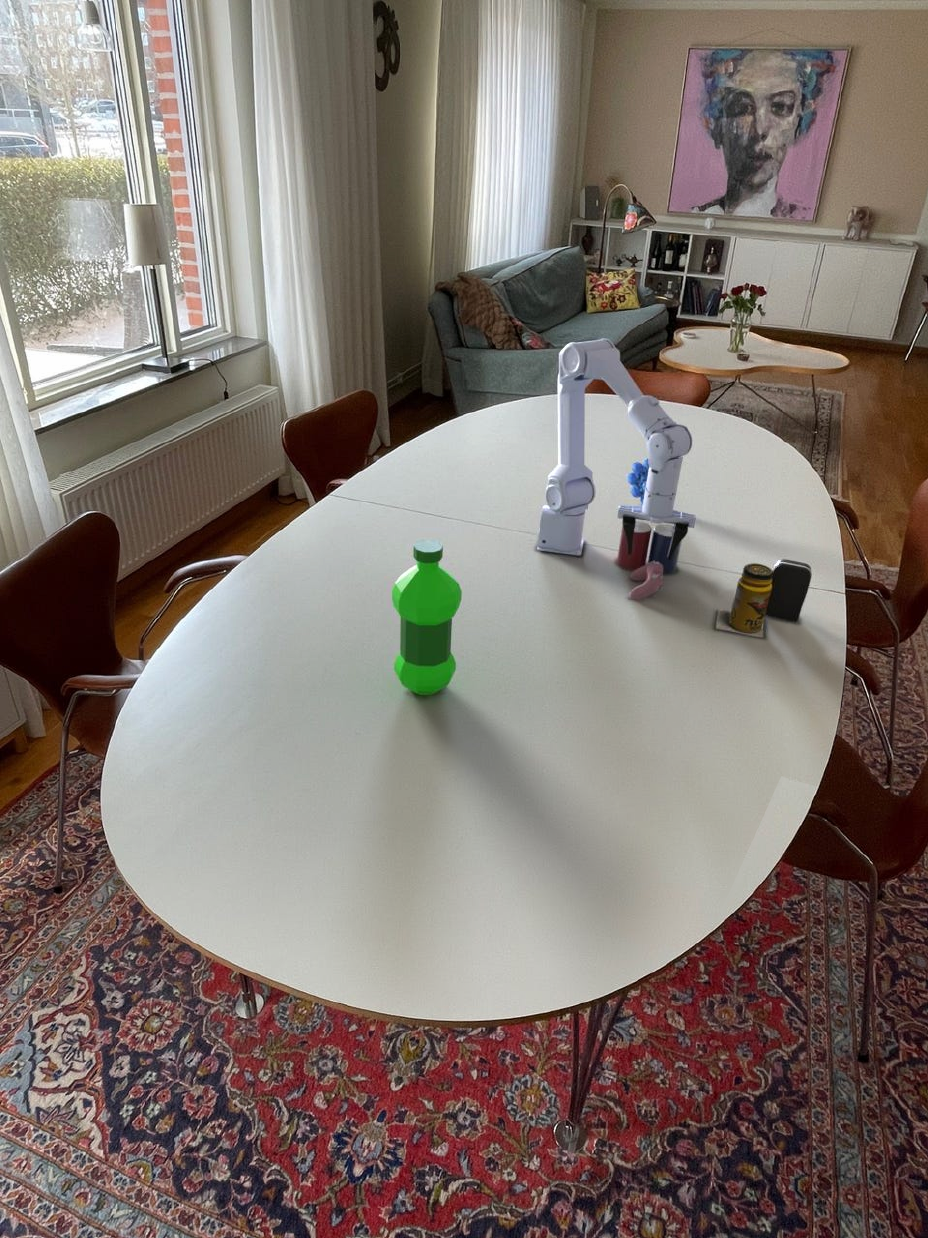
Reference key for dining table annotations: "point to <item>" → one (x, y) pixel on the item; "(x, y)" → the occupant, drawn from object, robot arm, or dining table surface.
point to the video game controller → (647, 580)
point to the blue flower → (639, 479)
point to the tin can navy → (663, 548)
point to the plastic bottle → (426, 621)
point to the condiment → (748, 602)
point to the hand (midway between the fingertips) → (649, 555)
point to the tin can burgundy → (635, 547)
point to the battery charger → (788, 589)
